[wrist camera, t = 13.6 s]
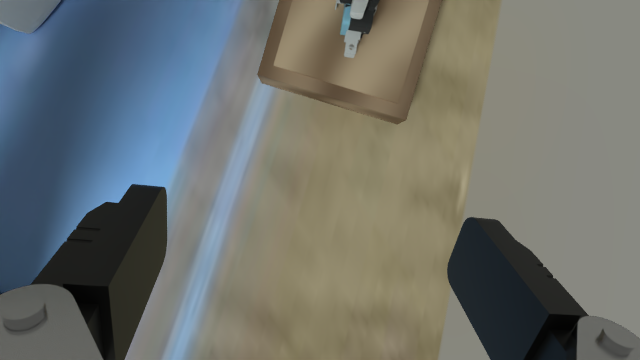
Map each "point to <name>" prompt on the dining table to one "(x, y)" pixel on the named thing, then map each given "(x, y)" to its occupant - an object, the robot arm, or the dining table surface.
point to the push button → (356, 22)
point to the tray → (343, 72)
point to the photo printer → (25, 13)
